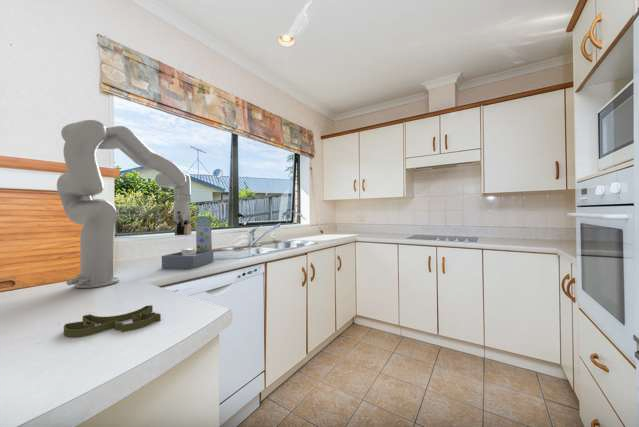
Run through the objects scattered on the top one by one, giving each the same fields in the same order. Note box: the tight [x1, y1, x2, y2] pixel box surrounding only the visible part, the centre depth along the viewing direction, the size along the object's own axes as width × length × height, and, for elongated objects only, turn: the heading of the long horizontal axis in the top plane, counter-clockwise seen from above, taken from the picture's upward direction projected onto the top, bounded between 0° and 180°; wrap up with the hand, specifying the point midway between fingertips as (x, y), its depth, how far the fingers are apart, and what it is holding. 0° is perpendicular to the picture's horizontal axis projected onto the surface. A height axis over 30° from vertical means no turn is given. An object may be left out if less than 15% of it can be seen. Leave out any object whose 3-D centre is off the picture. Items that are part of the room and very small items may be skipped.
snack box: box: [195, 214, 213, 251], centre depth 162 cm, size 22×9×26 cm, turn 25°
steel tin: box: [181, 248, 196, 256], centre depth 137 cm, size 7×7×7 cm
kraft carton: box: [173, 224, 192, 237], centre depth 134 cm, size 6×6×5 cm
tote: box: [161, 250, 214, 269], centre depth 138 cm, size 20×16×6 cm
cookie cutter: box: [63, 304, 162, 339], centre depth 62 cm, size 18×12×2 cm, turn 121°
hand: (183, 233), depth 134 cm, fingers closed on kraft carton, 6 cm apart
